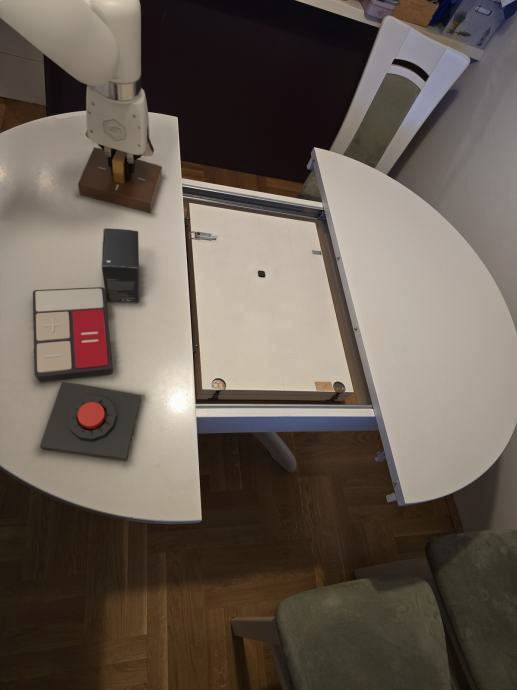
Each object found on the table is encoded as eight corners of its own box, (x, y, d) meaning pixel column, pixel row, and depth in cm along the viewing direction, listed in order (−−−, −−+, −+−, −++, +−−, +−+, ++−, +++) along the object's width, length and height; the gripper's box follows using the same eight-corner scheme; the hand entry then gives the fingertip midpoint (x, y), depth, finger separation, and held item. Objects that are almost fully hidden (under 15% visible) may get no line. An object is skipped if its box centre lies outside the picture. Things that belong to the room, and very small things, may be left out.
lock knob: (123, 184, 78) (122, 162, 74) (113, 181, 78) (111, 159, 73) (130, 167, 81) (129, 145, 76) (120, 164, 80) (118, 142, 76)
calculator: (33, 375, 58) (31, 287, 63) (39, 383, 61) (37, 300, 66) (111, 367, 61) (104, 284, 66) (113, 375, 65) (106, 296, 70)
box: (139, 303, 71) (138, 268, 62) (106, 302, 70) (100, 266, 60) (139, 267, 75) (139, 229, 65) (108, 266, 73) (103, 226, 64)
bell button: (75, 427, 56) (74, 424, 55) (83, 403, 58) (81, 399, 56) (101, 430, 57) (100, 428, 55) (108, 407, 59) (107, 404, 57)
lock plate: (80, 195, 78) (77, 182, 75) (95, 158, 83) (93, 146, 80) (150, 213, 81) (150, 202, 78) (161, 177, 86) (162, 165, 83)
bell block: (42, 449, 57) (36, 444, 54) (64, 386, 62) (59, 377, 58) (126, 461, 59) (125, 456, 56) (141, 399, 64) (141, 391, 61)
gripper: (57, 76, 60) (75, 173, 76) (161, 109, 63) (157, 196, 79) (72, 50, 63) (86, 148, 79) (170, 83, 66) (165, 171, 82)
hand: (121, 171), depth 79 cm, fingers closed on lock knob, 2 cm apart
